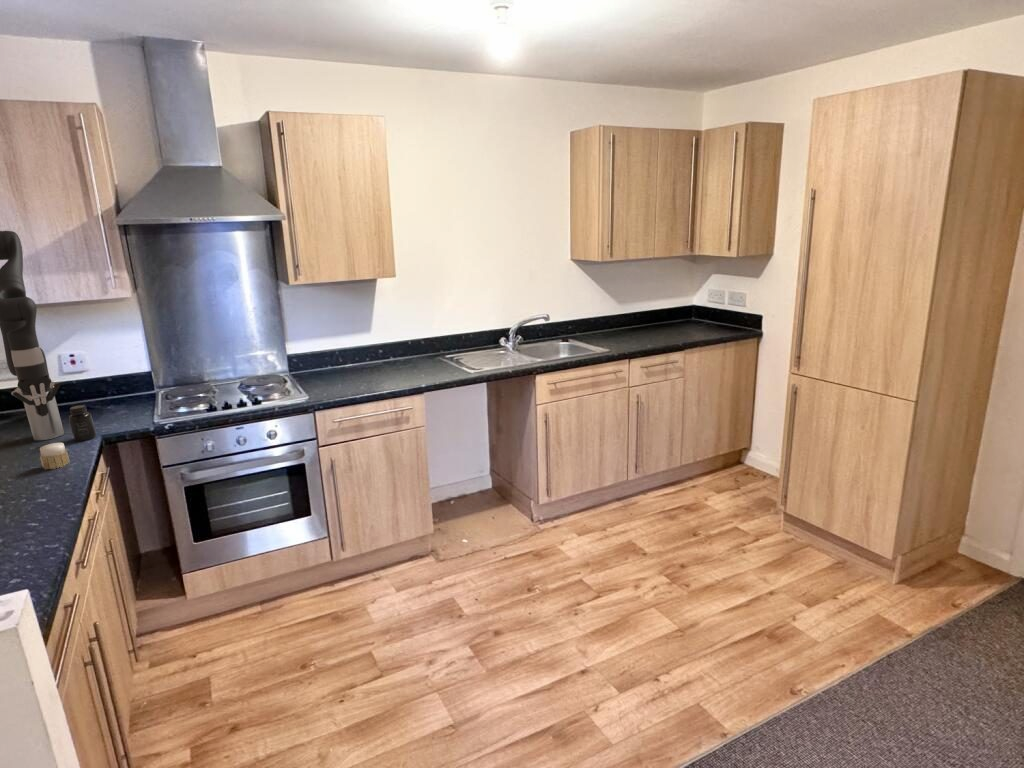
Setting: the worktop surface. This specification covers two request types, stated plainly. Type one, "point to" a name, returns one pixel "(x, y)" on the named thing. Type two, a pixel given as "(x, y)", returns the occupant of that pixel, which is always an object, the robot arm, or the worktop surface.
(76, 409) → the supplement bottle
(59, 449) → the cap
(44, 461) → the wooden slatted bowl
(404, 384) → the worktop surface
